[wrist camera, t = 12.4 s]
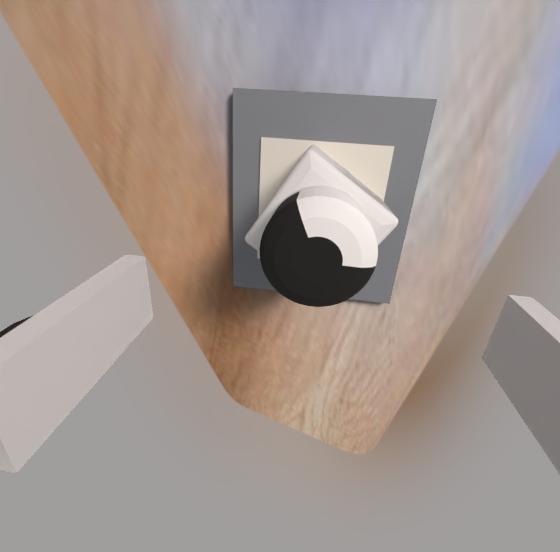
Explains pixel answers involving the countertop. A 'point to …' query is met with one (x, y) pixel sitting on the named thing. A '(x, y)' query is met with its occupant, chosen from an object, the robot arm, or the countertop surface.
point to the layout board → (340, 147)
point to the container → (320, 232)
